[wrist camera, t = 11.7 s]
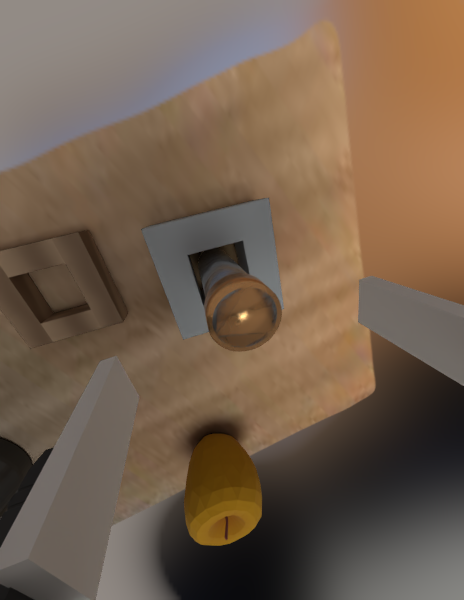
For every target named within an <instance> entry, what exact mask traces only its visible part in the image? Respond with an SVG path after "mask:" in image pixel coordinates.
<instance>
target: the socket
mask: <svg viewBox="0 0 464 600" xmlns="http://www.w3.org/2000/svg"><path fill="white" fill-rule="evenodd" d="M141 230H142V233H143V236H144V238H145V241H146V244H147V246H148V249H149V251H150V254H151V257H152V259H153V262H154V264H155V267H156V270H157V272H158V275H159V278H160V280H161V283H162V285H163V288H164V291H165V293H166V296H167V298H168V301H169V304H170V306H171V309H172V312H173V314H174V317H175V319H176V322H177V325H178V327H179V330H180V332H181V335H182V338H183V340H184V339H187V338H190V337H193V336H197V335H200V334H203V333H207V332H209V330H208V326H207V321H206V316H205V311H204V303H205V299H206V297H205V293H204V290H201V291H200V289H199V286H198V282H197V279H196V276H195V272H194V269H193V266H192V263H191V259H190V256H189V255H190V254H194V253H198V252H201V251H205V250H209V249H213V248H216V247H220V246H224V245H228V244H232V243H234V244H235V249H236V254H237V258H238V263H239V266H240V267H241V268H242V269H243V270H244V271H245V272H246V273H247V274H250V275H253V276H255V277H257V278H258V279H260V280H261V281H262V282H263V283H264V284H265V285H266V286H267V287H269V288H270V289H271V290H272V291H273V292H274V293H275V294H276V296H277V297H278V299H279V301H280V304H281V310H282V309H284V306H283V299H282V292H281V284H280V277H279V269H278V262H277V254H276V247H275V239H274V232H273V224H272V217H271V209H270V202H269V198H264V199H258V200H252V201H248V202H244V203H240V204H236V205H232V206H228V207H224V208H220V209H216V210H212V211H208V212H204V213H199V214H195V215H191V216H187V217H183V218H179V219H175V220H171V221H167V222H163V223H159V224H155V225H151V226H148V227H145V228H143V229H141Z"/></svg>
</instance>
